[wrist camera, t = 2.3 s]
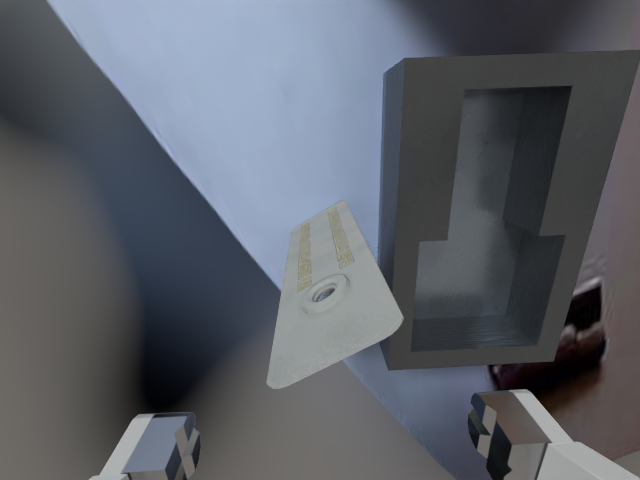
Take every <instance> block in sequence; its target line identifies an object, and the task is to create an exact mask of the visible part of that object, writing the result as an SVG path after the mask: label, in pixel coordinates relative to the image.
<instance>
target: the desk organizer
mask: <svg viewBox="0 0 640 480" xmlns="http://www.w3.org/2000/svg"><path fill="white" fill-rule="evenodd" d="M639 61H640V50H623V51H594V52H565V53H537V54H508V55H480V56H451V57H423V58H404V59H403V60H401V61H400V62H399V63H397V64H396V65H394V66H393V67H392V68H390V69H389V70H388V71H386V72H385V73H384V78H383V110H382V141H381V173H380V204H379V236H378V267H379V269H380V271H381V273H382V275H383V277H384V279H385V281H386V283H387V285H388V287H389V289H390V291H391V293H392V295H393V297H394V299H395V301H396V303H397V305H398V307H399V309H400V311H401V313H402V315H403V317H404V319H403V321H402V324H401V325H400V327H399V328H398V329H397V330H396V331H395V332H394V333H393V334H392V335H390V336H388V337H387V338H385V339H383V340H381V341H379V343H380V346H381V349H382V352H383V355H384V358H385V361H386V364H387V368H388V370H402V369H420V368H438V367H457V366H475V365H493V364H511V363H529V362H548V361H554V358H555V354H556V351H557V347H558V344H559V340H560V337H561V334H562V330H563V327H564V323H565V320H566V316H567V313H568V309H569V306H570V302H571V299H572V295H573V292H574V288H575V285H576V281H577V278H578V274H579V271H580V267H581V264H582V260H583V257H584V253H585V250H586V246H587V243H588V239H589V236H590V232H591V229H592V225H593V222H594V218H595V215H596V211H597V208H598V204H599V201H600V197H601V194H602V190H603V187H604V183H605V180H606V176H607V173H608V169H609V166H610V162H611V159H612V155H613V152H614V148H615V145H616V141H617V138H618V134H619V131H620V127H621V124H622V120H623V117H624V113H625V110H626V107H627V103H628V100H629V96H630V93H631V89H632V86H633V82H634V79H635V75H636V72H637V68H638V65H639Z"/></svg>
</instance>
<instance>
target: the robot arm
mask: <svg viewBox="0 0 640 480" xmlns="http://www.w3.org/2000/svg"><path fill="white" fill-rule="evenodd" d="M471 404H472V406H473V408H474V409H473V410H472V411H471V412H470V413H469V414H468V422H467V423H468V429H469V434H470V437H471V440H472V442H473V444H474V446H475V448H476V450H477V451H478V452H479V453H480V454H482V455H483V456H484V457H485V458H487V460H486V469H487V471H488V473H489V474H490V476H491V478H492V480H640V478H639V477H637V476H635V475H634V474H632V473H630V472H628V471H627V470H625V469H624V468H622V467H620V466H619V465H617V464H615V463H614V462H612V461H610V460H609V459H607V458H605V457H604V456H602V455H600V454H599V453H597V452H595V451H594V450H592V449H590V448H589V447H587V446H586V445H584V444H582V443H581V442H573V441H572V439H571V438H570V437H569V436H568V435H567V434H566V433H565V431H564V430H563V429H562V428H561V427H560V426H559V424H558V423H557V422H556V421H555V420H554V419H553V417H552V416H551V415H550V414H549V413H548V412H547V411H546V409H545V408H544V407H543V406H542V405H541V404H540V402H539V401H538V400H537V399H536V398H535V397H534V395H533V394H532V393H531V392H529V391H528V390H526V389H523V390H509V391H506V390H505V391H492V392H480V393H474V394H473V395H472V398H471ZM195 423H196V419H195V415H194V413H193V412H184V413H158V414H140V415H137V416H136V417H135V418H134V419H133V420H132V422H131V423H130V425H129V427H128V428H127V430H126V432H125V433H124V435H123V437H122V438H121V440H120V442H119V443H118V445H117V447H116V449H115V450H114V452H113V454H112V455H111V457H110V459H109V460H108V462H107V463H106V465H105V467H104V468H103V470H102V472H101V473H100V475H99V476H93V477H92V478H90V479H89V480H187V479H188V478H189V477H190V476H191V475H192V474H193V473H194V472H195V471H196V467H197V464H198V461H199V456H200V449H201V442H200V434H199V432H198V431H197V430H195V429H194V426H195Z"/></svg>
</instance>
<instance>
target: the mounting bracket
mask: <svg viewBox="0 0 640 480" xmlns="http://www.w3.org/2000/svg"><path fill="white" fill-rule="evenodd" d="M332 289H335V290H334V292H333V293H332V294H331V295H330V296H329V297H327V298H325V299H324V300H321V301H318V299H319V298H320V297H321V296H322V295H323V294H324V293H326V292H327V291H329V290H332ZM403 319H404V317H403V315H402V313H401V311H400V309H399V307H398V305H397V303H396V301H395V299H394V297H393V295H392V293H391V291H390V289H389V287H388V285H387V283H386V281H385V279H384V277H383V275H382V273H381V271H380V269H379V267H378V265H377V263H376V261H375V259H374V257H373V255H372V253H371V251H370V249H369V247H368V245H367V243H366V241H365V239H364V237H363V235H362V233H361V231H360V229H359V227H358V225H357V223H356V221H355V219H354V217H353V215H352V213H351V211H350V209H349V207H348V205H347V203H346V201H341V202H338V203H336V204H334V205H333V206H331V207H329V208H327V209H326V210H324V211H322V212H320V213H319V214H317V215H315V216H313V217H312V218H310V219H308V220H306V221H305V222H303V223H301V224H299V225H298V226H297V227H295V228H294V229H293V230H292V232H291V238H290V244H289V250H288V256H287V262H286V268H285V275H284V281H283V287H282V293H281V299H280V305H279V311H278V317H277V323H276V329H275V335H274V341H273V347H272V353H271V359H270V365H269V371H268V378H267V384H268V386H270V387H271V388H273V389H279V388H283V387H286V386H288V385H291V384H293V383H294V382H297V381H299V380H301V379H303V378H305V377H307V376H309V375H311V374H313V373H315V372H317V371H319V370H322V369H324V368H326V367H328V366H330V365H332V364H334V363H336V362H338V361H340V360H342V359H344V358H346V357H348V356H350V355H352V354H355V353H357V352H359V351H361V350H363V349H365V348H367V347H369V346H371V345H373V344H375V343H377V342H379V341H381V340H383V339H385V338H387V337H388V336H390V335H392V334H393V333H394V332H395V331H396V330H397V329H398V328H399V327H400V325H401V324H402V321H403Z"/></svg>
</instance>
